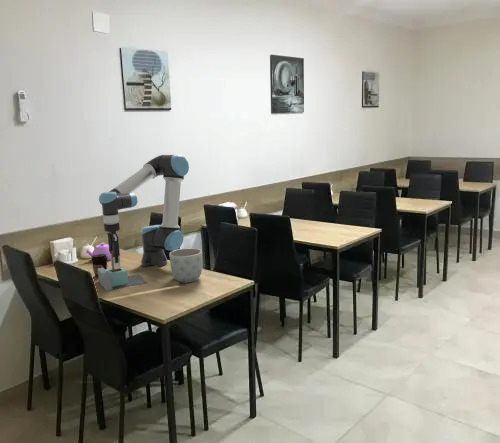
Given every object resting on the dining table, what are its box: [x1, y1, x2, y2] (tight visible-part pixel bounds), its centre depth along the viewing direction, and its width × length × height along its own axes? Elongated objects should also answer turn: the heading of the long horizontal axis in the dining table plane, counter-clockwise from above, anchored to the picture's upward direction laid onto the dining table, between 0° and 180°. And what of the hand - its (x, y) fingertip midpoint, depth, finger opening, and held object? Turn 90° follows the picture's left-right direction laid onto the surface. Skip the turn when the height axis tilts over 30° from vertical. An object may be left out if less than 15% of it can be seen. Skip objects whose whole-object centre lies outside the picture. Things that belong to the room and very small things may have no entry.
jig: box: [98, 268, 148, 292], centre depth 251 cm, size 21×18×8 cm
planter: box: [168, 247, 203, 284], centre depth 253 cm, size 17×17×15 cm
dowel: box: [111, 250, 121, 272], centre depth 248 cm, size 4×4×14 cm
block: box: [105, 266, 129, 287], centre depth 249 cm, size 9×9×7 cm
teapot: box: [85, 242, 111, 262], centre depth 301 cm, size 14×20×11 cm
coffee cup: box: [90, 254, 108, 279], centre depth 262 cm, size 9×8×13 cm
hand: (115, 267), depth 248 cm, fingers open, 5 cm apart
